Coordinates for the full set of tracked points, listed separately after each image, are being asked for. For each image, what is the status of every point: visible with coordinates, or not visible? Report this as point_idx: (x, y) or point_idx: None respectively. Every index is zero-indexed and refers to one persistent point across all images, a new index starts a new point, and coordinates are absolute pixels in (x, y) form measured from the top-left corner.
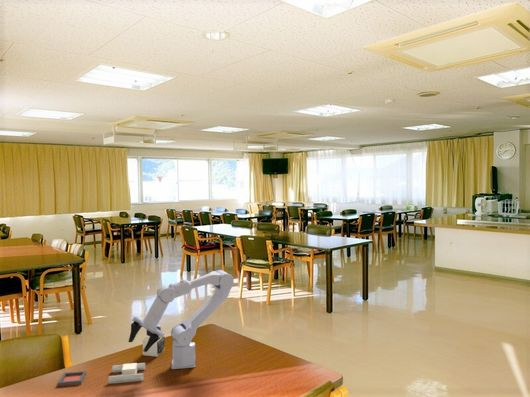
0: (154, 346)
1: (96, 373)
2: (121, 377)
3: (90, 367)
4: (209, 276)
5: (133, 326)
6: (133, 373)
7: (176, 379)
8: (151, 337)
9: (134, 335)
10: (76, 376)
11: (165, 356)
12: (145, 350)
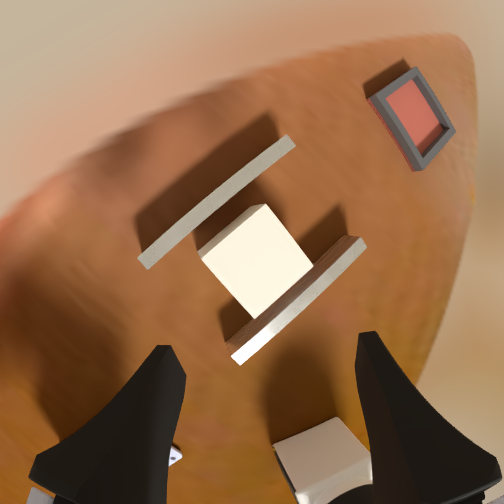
0: (300, 468)
1: (391, 196)
2: (232, 176)
3: (436, 224)
4: None
5: (449, 473)
6: (208, 247)
7: (29, 342)
8: (66, 466)
9: (372, 417)
10: (421, 138)
11: (243, 461)
12: (149, 355)
